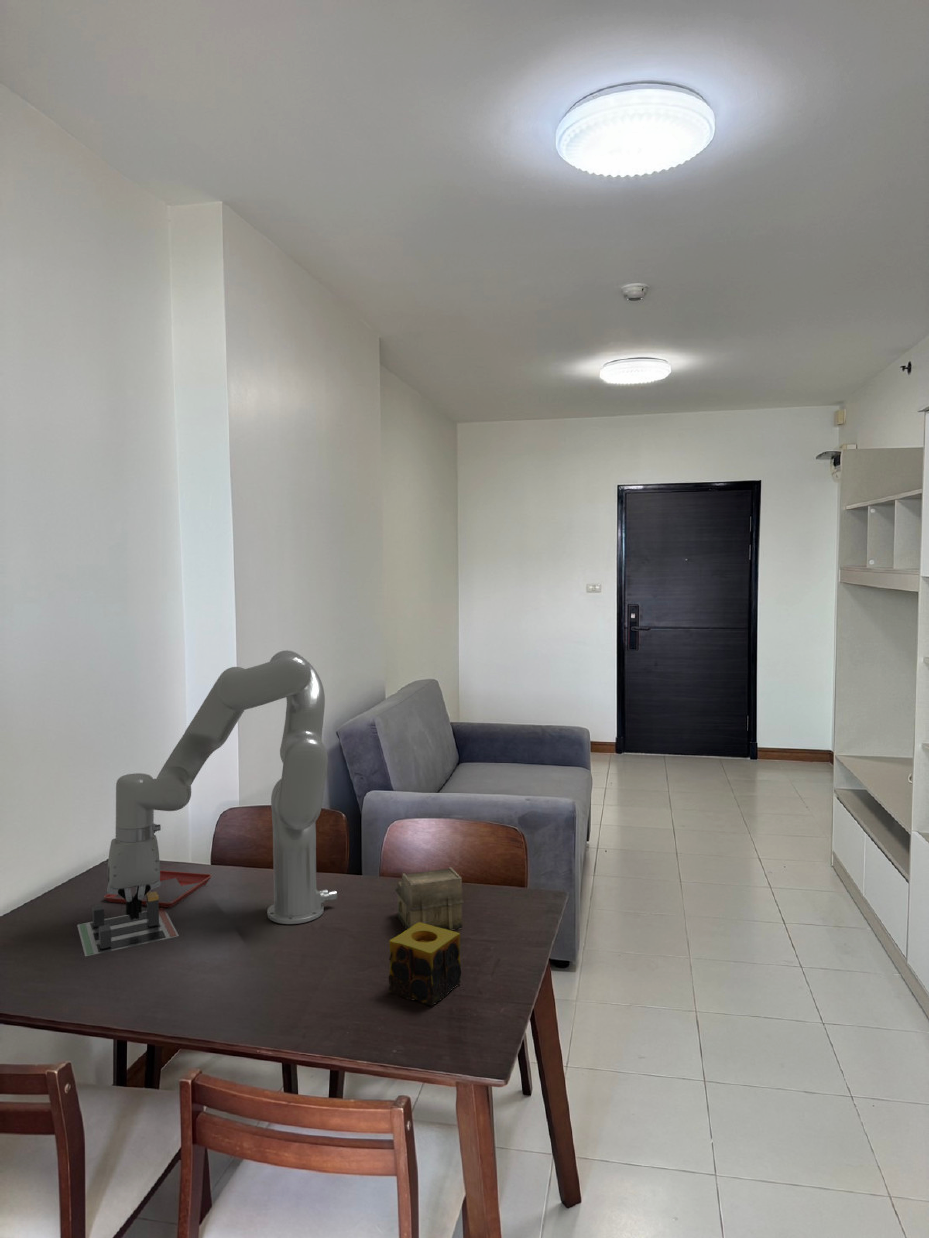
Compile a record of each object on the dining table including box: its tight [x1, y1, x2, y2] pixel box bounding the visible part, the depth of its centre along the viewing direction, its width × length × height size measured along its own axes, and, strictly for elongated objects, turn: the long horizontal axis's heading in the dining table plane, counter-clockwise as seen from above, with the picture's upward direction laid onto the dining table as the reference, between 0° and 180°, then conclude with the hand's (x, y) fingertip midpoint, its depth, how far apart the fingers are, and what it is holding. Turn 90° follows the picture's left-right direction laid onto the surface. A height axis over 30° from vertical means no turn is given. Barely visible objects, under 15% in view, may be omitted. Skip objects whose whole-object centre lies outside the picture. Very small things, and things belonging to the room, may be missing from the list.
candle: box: [388, 922, 462, 1007], centre depth 154 cm, size 10×10×10 cm
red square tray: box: [103, 869, 213, 908], centre depth 198 cm, size 18×18×3 cm
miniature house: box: [394, 866, 466, 931], centre depth 183 cm, size 15×14×11 cm
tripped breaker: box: [145, 890, 160, 927], centre depth 178 cm, size 2×3×6 cm
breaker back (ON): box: [91, 903, 105, 927], centre depth 179 cm, size 2×3×4 cm, turn 30°
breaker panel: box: [76, 907, 180, 957], centre depth 176 cm, size 18×17×2 cm
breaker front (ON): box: [99, 924, 112, 949], centre depth 168 cm, size 2×3×4 cm, turn 30°
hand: (133, 916), depth 177 cm, fingers closed
